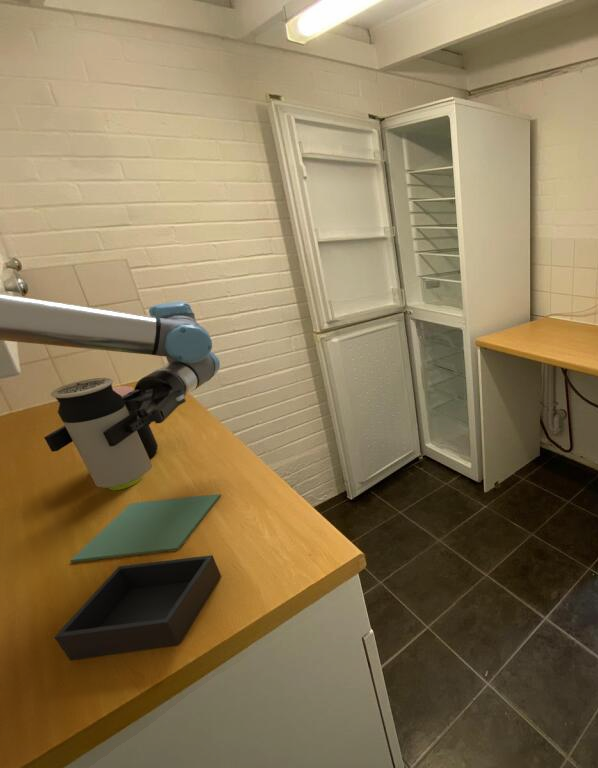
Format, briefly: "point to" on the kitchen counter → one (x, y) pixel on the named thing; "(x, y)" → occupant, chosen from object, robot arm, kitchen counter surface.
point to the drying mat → (148, 528)
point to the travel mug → (101, 431)
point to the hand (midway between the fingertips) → (80, 441)
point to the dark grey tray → (140, 608)
